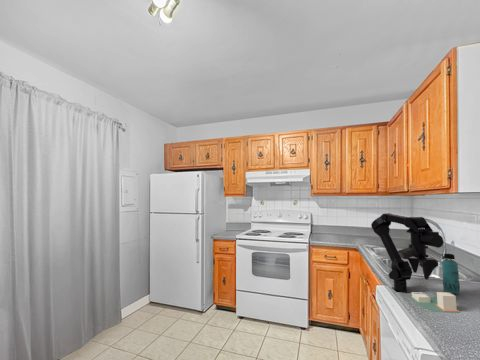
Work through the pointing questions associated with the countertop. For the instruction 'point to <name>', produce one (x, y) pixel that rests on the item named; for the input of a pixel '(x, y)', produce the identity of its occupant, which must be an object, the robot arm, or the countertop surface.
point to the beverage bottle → (450, 274)
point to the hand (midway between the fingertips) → (420, 275)
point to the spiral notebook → (421, 297)
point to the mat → (430, 305)
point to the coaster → (447, 310)
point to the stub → (446, 301)
